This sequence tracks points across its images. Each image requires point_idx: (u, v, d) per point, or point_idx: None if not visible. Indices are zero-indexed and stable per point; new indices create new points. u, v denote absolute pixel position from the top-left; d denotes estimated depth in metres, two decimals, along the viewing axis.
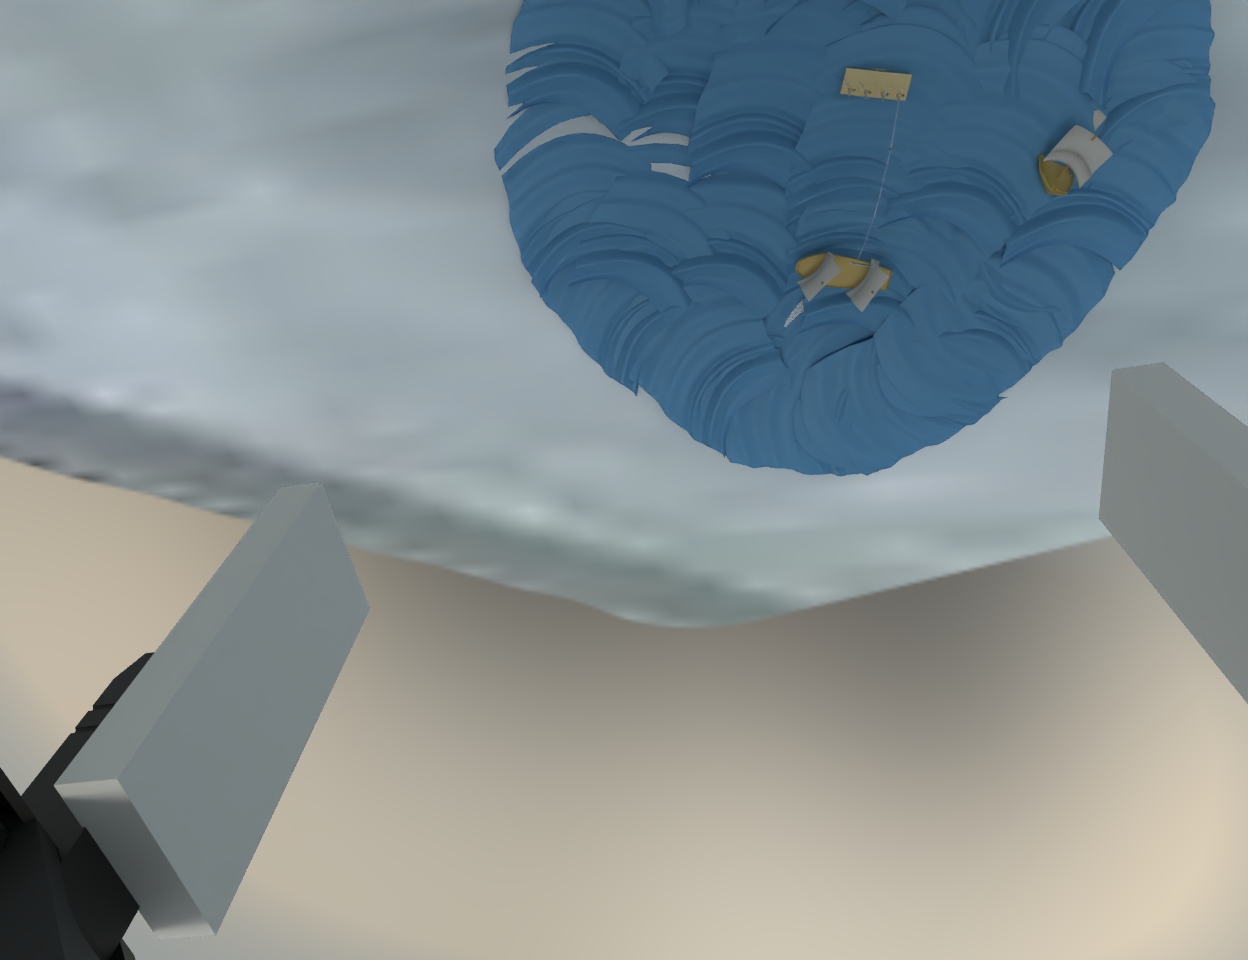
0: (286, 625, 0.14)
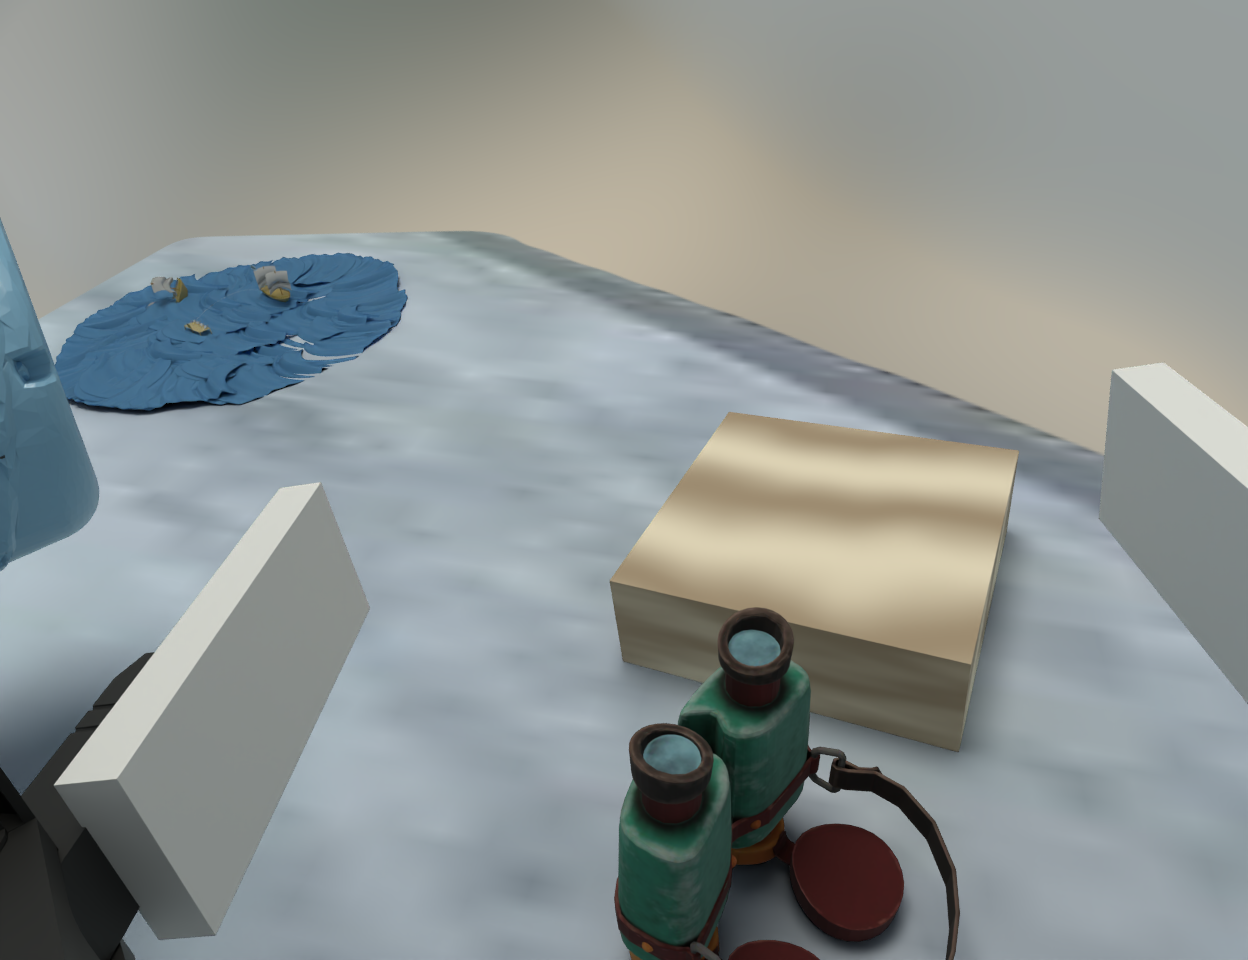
0: (286, 625, 0.14)
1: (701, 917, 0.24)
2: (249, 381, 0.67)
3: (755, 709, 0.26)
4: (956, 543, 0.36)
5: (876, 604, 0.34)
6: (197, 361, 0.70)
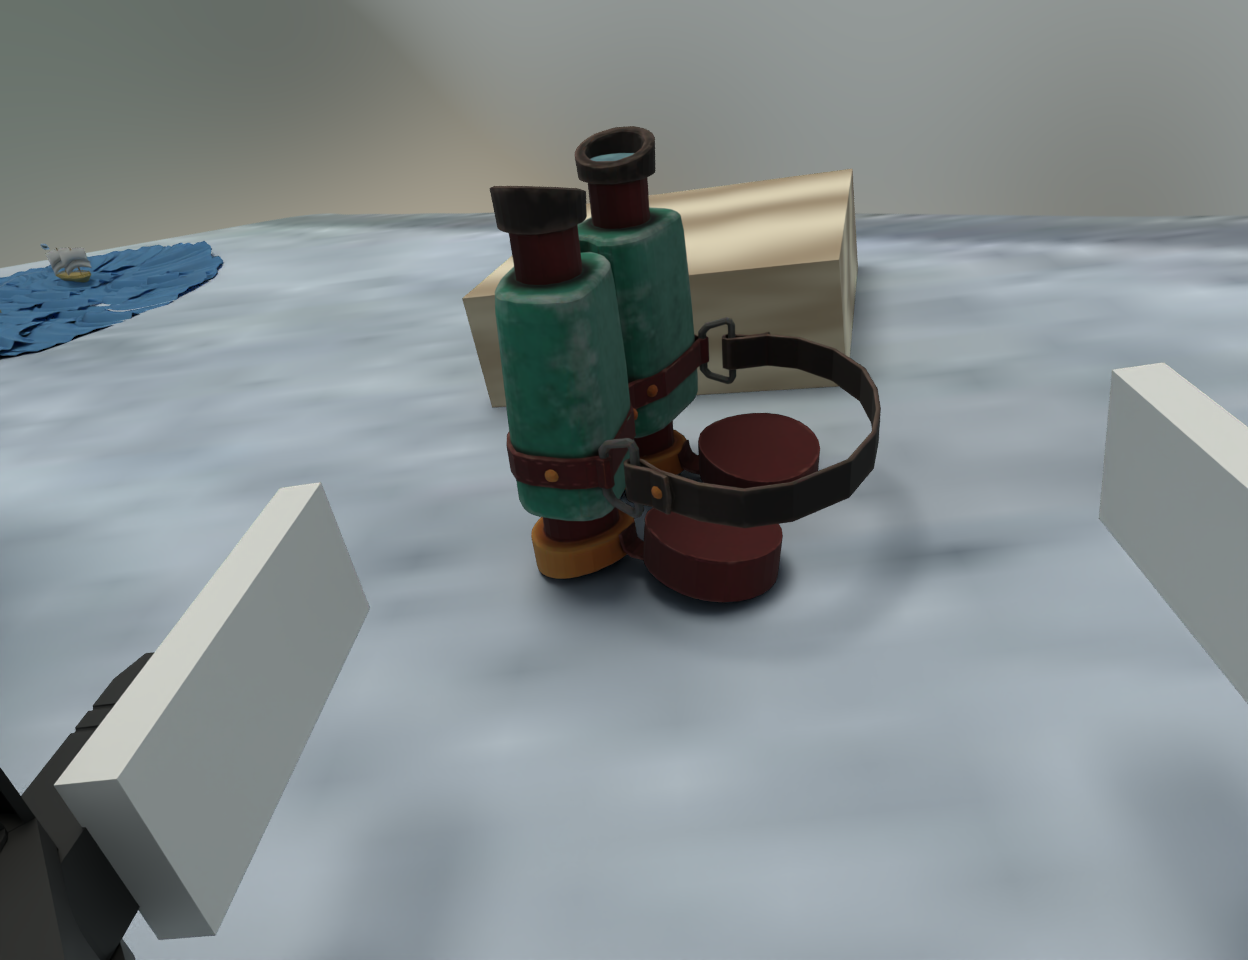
0: (286, 625, 0.14)
1: (605, 418, 0.21)
2: (48, 333, 0.61)
3: (627, 228, 0.24)
4: (807, 214, 0.36)
5: (737, 253, 0.33)
6: None
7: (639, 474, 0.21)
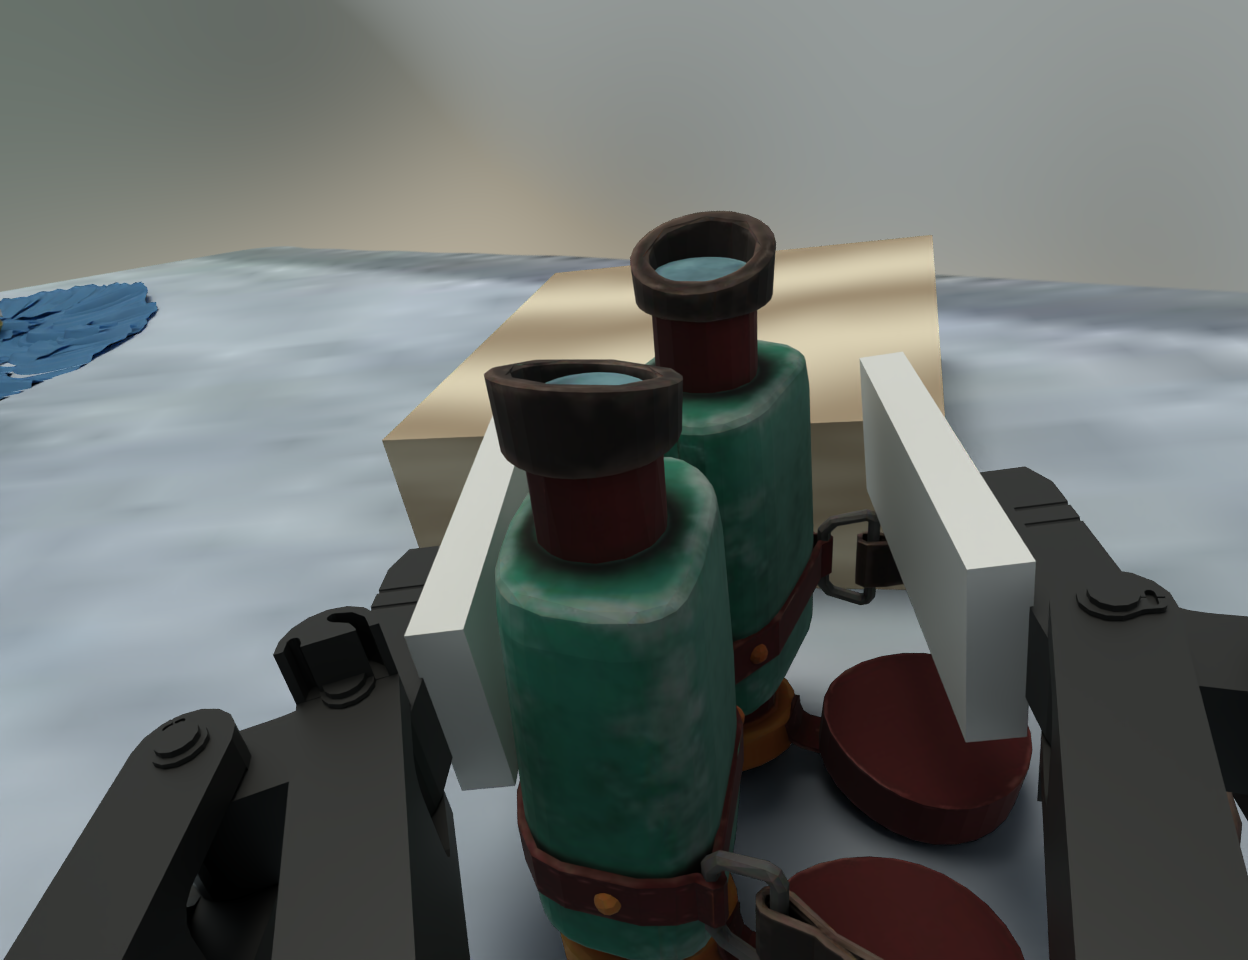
0: None
1: (712, 797, 0.11)
2: None
3: (725, 393, 0.13)
4: (880, 315, 0.25)
5: None
6: None
7: (791, 934, 0.10)
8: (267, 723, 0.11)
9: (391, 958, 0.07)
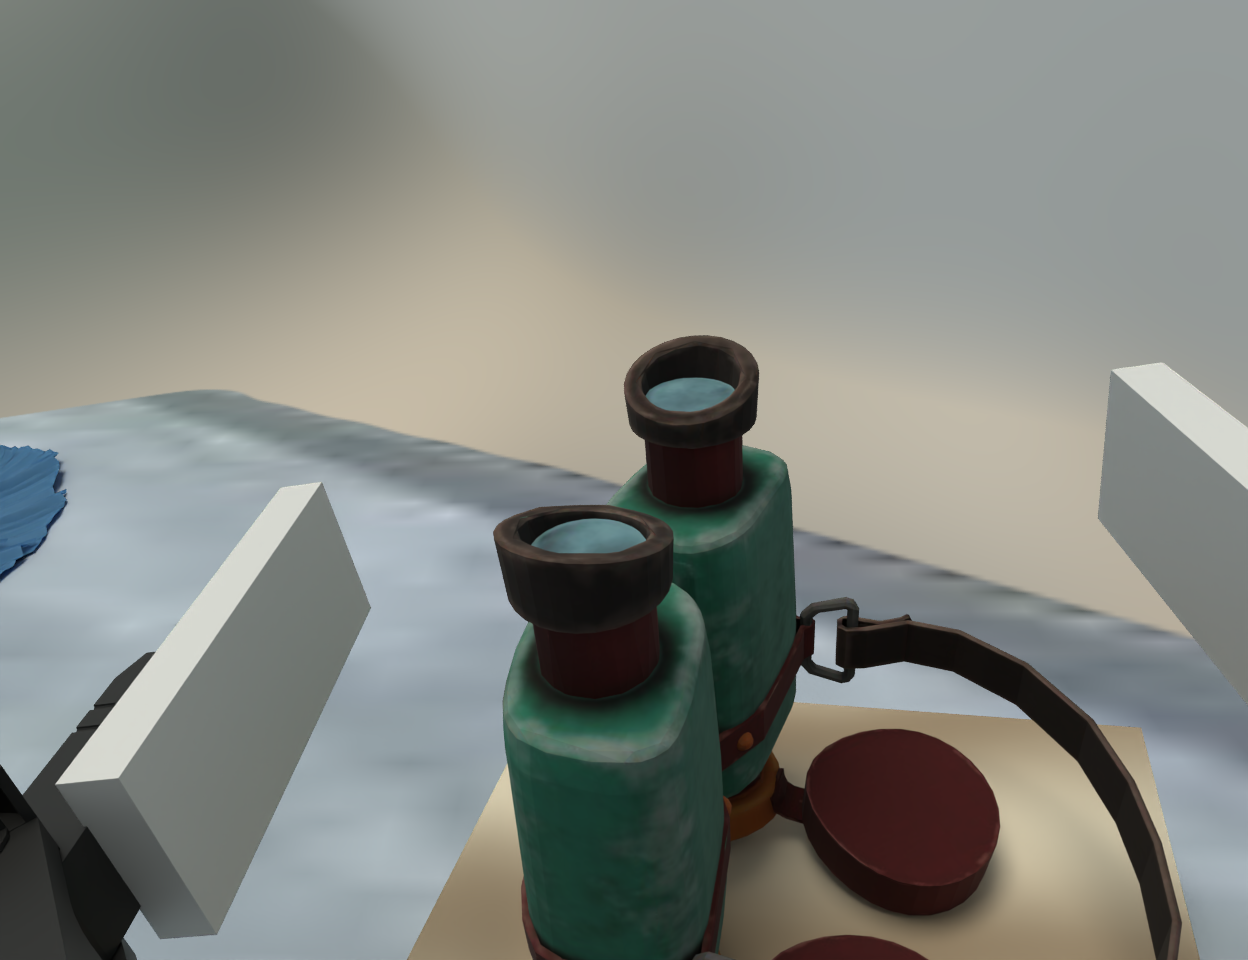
0: (287, 624, 0.14)
1: (701, 899, 0.12)
2: None
3: (712, 507, 0.14)
4: None
5: None
6: None
7: None
8: None
9: None
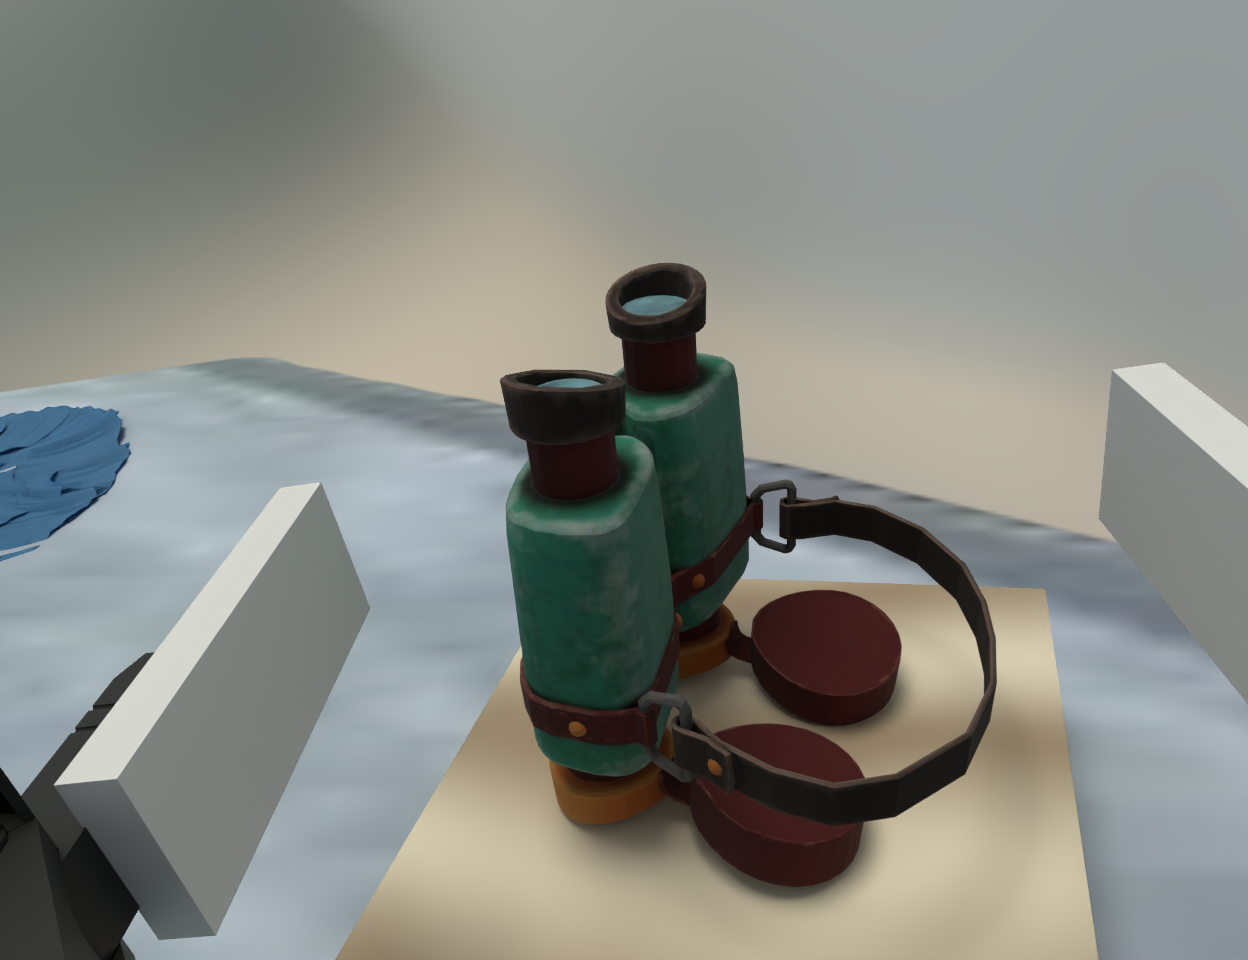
0: (286, 625, 0.14)
1: (647, 658, 0.17)
2: None
3: (671, 392, 0.19)
4: (995, 808, 0.18)
5: None
6: None
7: (692, 742, 0.16)
8: None
9: None
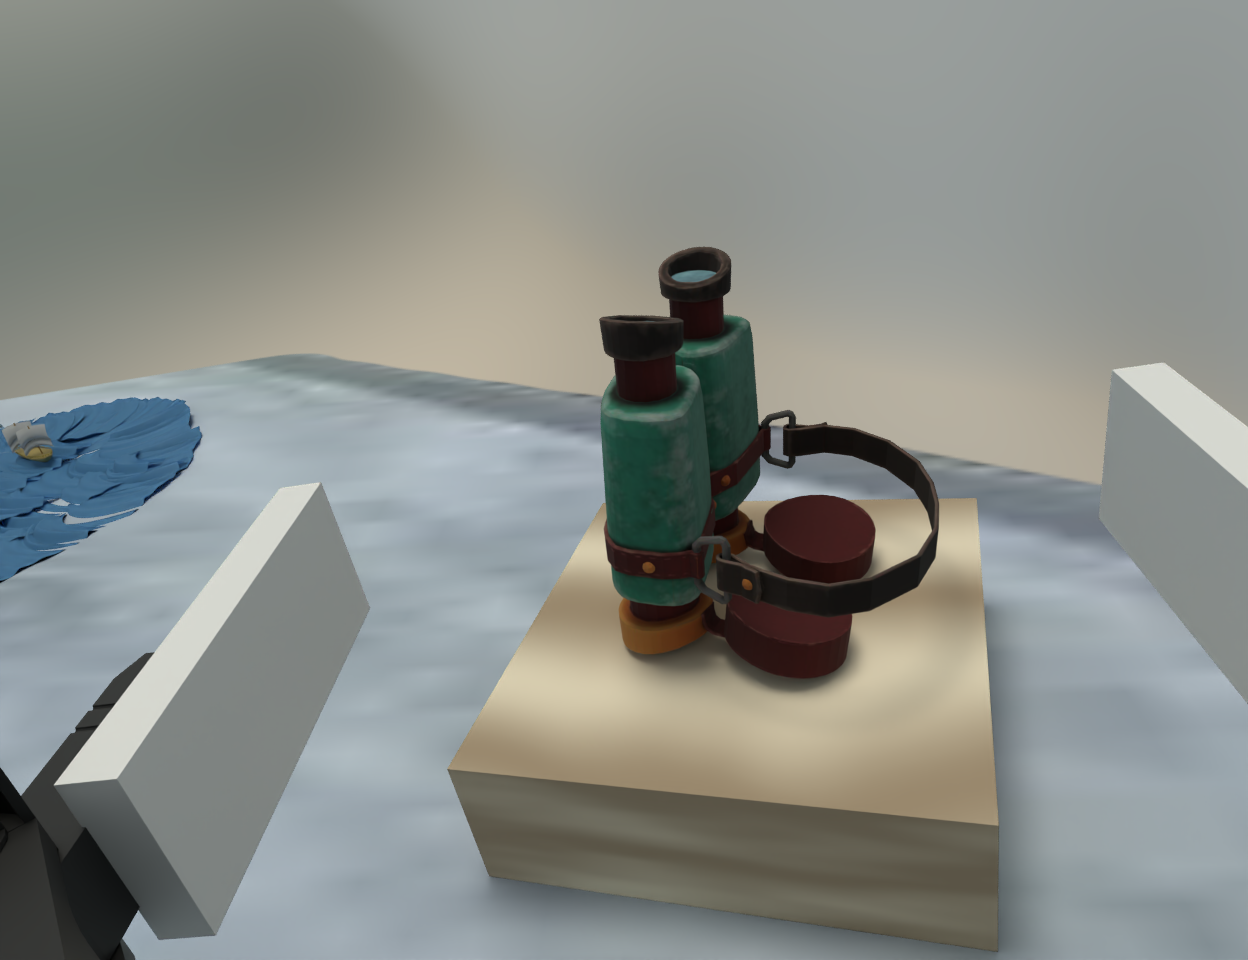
0: (286, 625, 0.14)
1: (697, 516, 0.24)
2: None
3: (706, 339, 0.26)
4: (928, 634, 0.26)
5: (837, 745, 0.23)
6: None
7: (731, 568, 0.23)
8: None
9: None
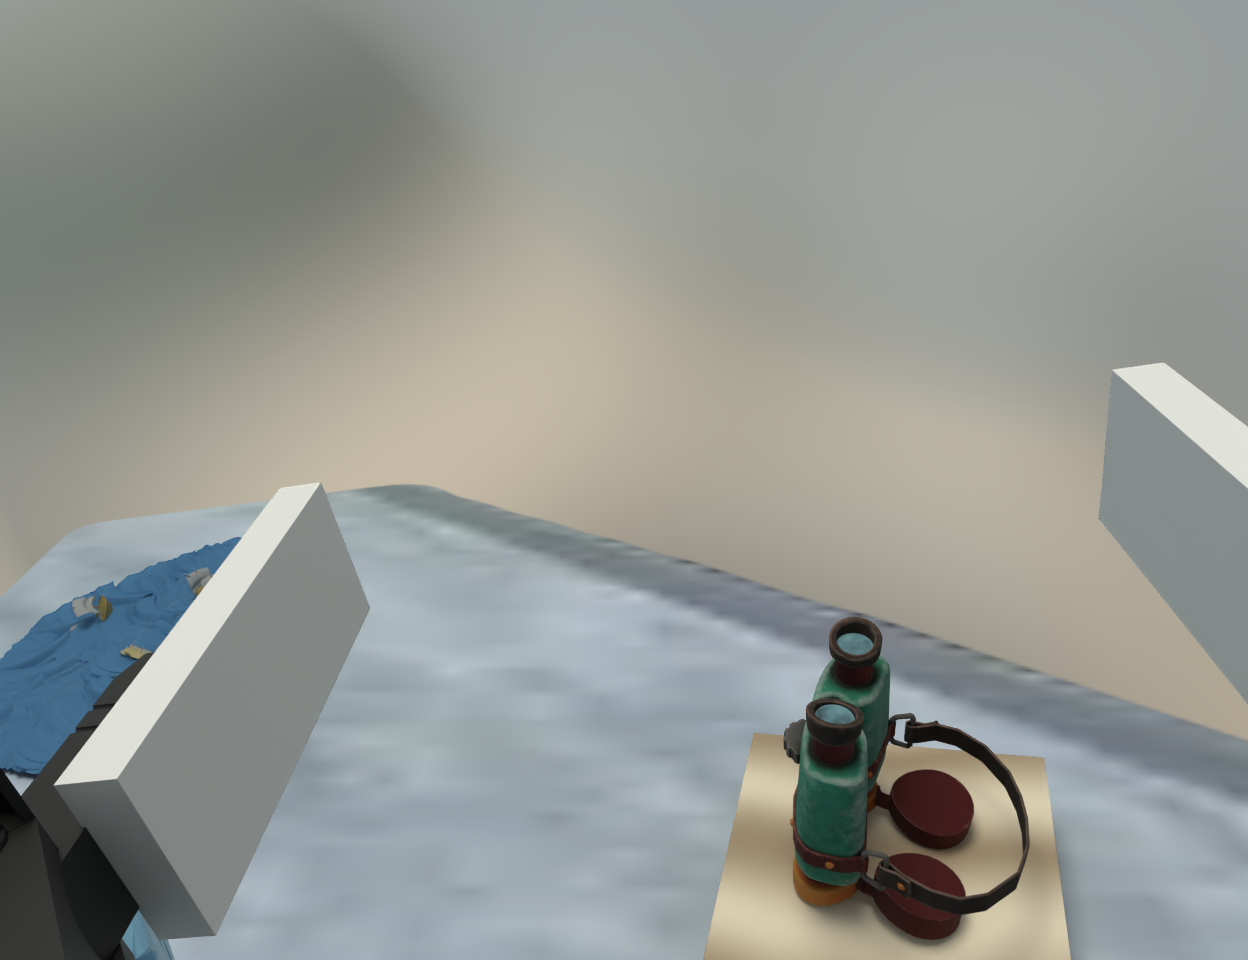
0: (286, 625, 0.14)
1: (864, 832, 0.35)
2: None
3: (862, 686, 0.38)
4: (1022, 891, 0.37)
5: None
6: None
7: (890, 875, 0.34)
8: None
9: None
